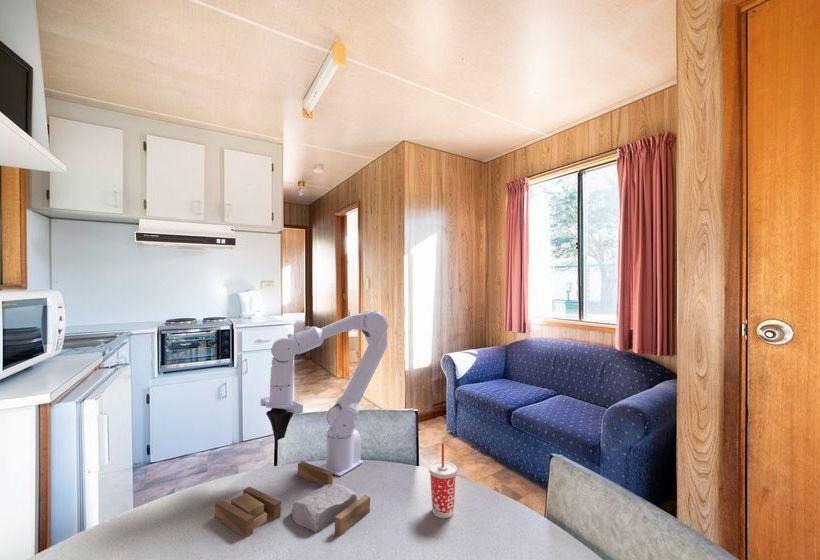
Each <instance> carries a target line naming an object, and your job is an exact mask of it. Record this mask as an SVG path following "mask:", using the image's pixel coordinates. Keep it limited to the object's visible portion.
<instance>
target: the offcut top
mask: <svg viewBox="0 0 820 560" xmlns="http://www.w3.org/2000/svg"><path fill="white" fill-rule="evenodd" d="M230 504H232V505H234V506H235V507H237V508H239V509H241V510H243V511H245V512H246V513H248V514H250V515H252V516H254V518H256V517H258V516H260V515H262V514H264V504H263V503H261V502H260V501H258V500H256V499H255V498H253V497H252V496H250V495H248V494H247V493H246V494H243V493H242V494H241V495H239V496H237V497H234V498H232V499H231V500H230Z"/></svg>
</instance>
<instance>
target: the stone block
mask: <svg viewBox="0 0 820 560" xmlns="http://www.w3.org/2000/svg"><path fill="white" fill-rule="evenodd" d="M357 500H358V496H357V493H356V492H355V491H353V490H352V489H350V488H348V487H346V486H344V485H343V484H339V483H338V484H336V483H332V485H331V484H330V485H325V486H323V485H322V487H320V488H317V489H316V490H314V491H312V492H311V493H309V495H307V496H305V497H303V498H299V499H298V500H296V501H294V502H293V503H292V508H291V519H292V520H293V521H294V522H295V523H296V524H297V525H299V526H301V527H305V528H306V529H307V530H309V531H312V532H313V533H318V532H320V531H322V530H323V529H325V528H326V527H328V526H329V525H331V524H333V523H335V516H337V515H338V514H339V513H341V512H342V511H343V510H345V509H346V508H348V507H349V506H350V505H352V504H353V503H354V502H356V501H357Z"/></svg>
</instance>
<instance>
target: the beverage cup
mask: <svg viewBox="0 0 820 560" xmlns="http://www.w3.org/2000/svg"><path fill="white" fill-rule="evenodd" d="M428 472H429V476H430V491H431V507H432V508H431V509H432V511H431V512H432V514H433V515H434V516H435V517H437V518H440V519H447V518H451V517H453V515H454V512H455V493H456V477H457V476H456V475H457V473H458V468H457V466H456V465H455V464H454V463H452V462H448V461H445V443H443V442H442V443H441V461H435V462H432V463H430V464H429V467H428Z"/></svg>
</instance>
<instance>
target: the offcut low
mask: <svg viewBox="0 0 820 560" xmlns="http://www.w3.org/2000/svg"><path fill="white" fill-rule="evenodd" d="M267 522H268V517H267V513H265V512H264V514H262V515H260V516H258V517H256V518H254V528H253V531H254V530H255V529H257V528H258V527H260V526H262V525H263V524H265V523H267Z"/></svg>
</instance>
